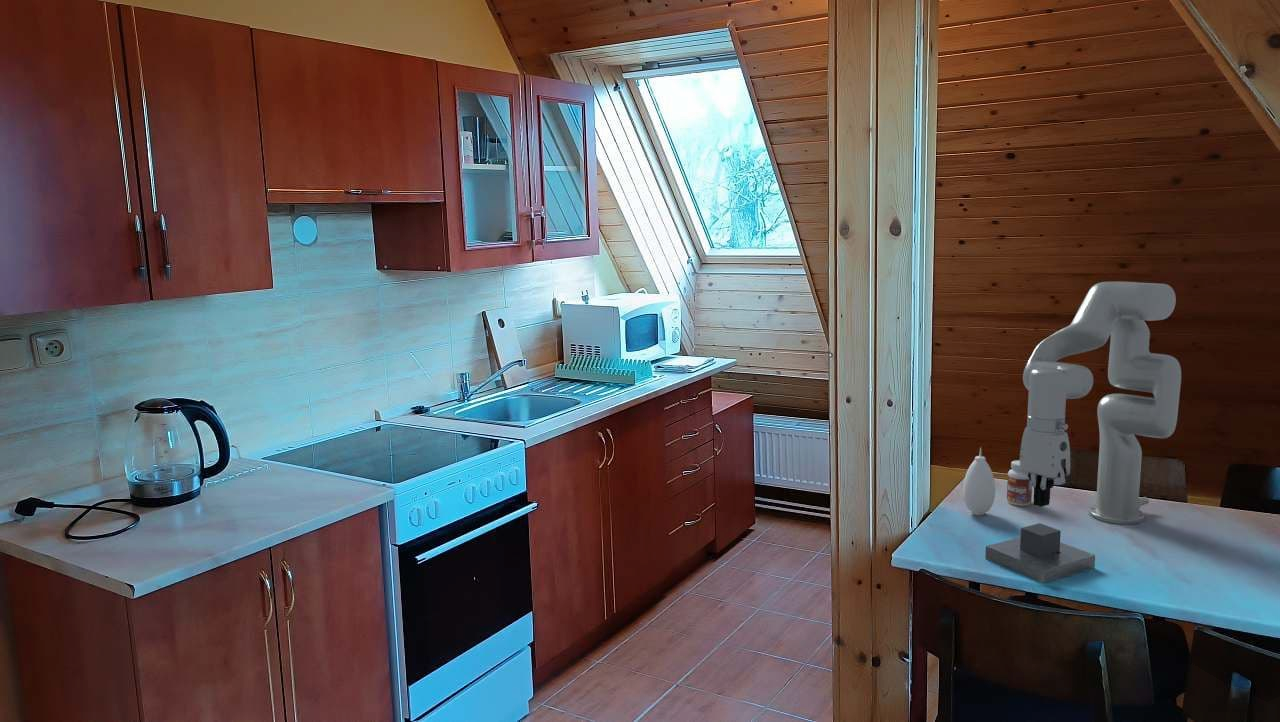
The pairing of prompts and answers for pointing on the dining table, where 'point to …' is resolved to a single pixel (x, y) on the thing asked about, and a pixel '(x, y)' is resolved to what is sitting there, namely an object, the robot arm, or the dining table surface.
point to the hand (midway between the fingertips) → (1041, 504)
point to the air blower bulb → (979, 486)
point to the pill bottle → (1018, 486)
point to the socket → (1040, 560)
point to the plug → (1040, 540)
